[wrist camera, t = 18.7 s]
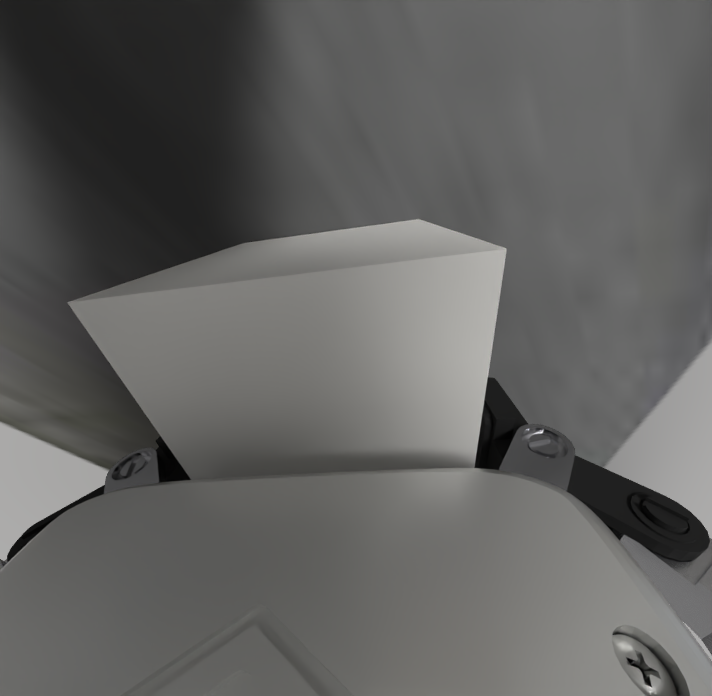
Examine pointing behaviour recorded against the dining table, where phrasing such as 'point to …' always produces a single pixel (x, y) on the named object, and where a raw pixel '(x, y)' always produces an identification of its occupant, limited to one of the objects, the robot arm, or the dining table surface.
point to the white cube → (311, 350)
